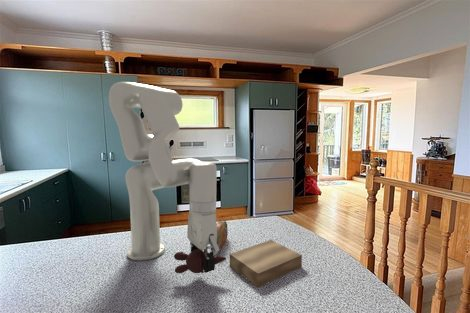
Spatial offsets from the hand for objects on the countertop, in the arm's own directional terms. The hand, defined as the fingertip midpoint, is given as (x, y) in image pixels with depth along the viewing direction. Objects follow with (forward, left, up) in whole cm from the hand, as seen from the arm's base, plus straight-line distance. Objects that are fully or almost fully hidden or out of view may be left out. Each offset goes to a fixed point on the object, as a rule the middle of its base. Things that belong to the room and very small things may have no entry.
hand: (202, 263), depth 74 cm
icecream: (0, -1, -2) cm, 2 cm away
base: (+6, +19, -4) cm, 21 cm away
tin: (-15, +15, -5) cm, 22 cm away
